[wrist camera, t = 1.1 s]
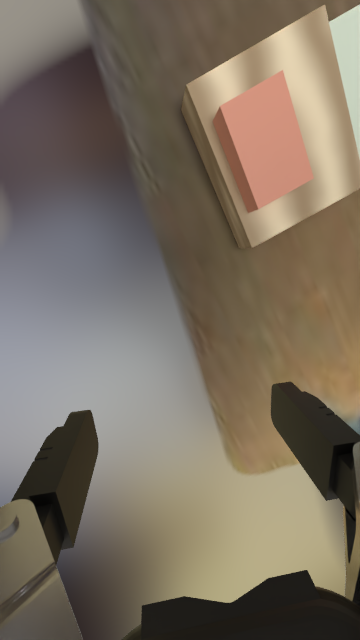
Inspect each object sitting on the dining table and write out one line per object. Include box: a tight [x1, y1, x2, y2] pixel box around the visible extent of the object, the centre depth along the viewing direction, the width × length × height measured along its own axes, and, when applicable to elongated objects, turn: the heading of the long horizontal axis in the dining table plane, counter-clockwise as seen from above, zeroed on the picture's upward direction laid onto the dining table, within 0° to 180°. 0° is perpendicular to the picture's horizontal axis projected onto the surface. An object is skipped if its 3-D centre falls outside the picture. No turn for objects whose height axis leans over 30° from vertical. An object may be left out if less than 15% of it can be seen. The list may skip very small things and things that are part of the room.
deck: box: [181, 5, 360, 248], centre depth 26 cm, size 14×16×4 cm
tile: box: [213, 70, 314, 213], centre depth 23 cm, size 6×9×2 cm, turn 27°
